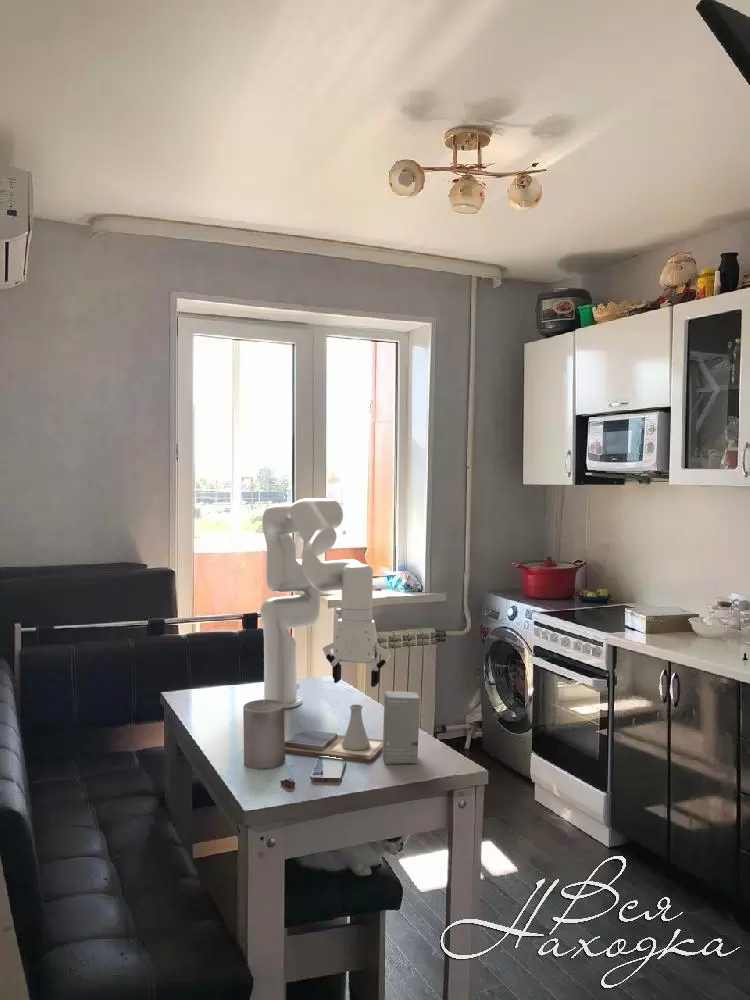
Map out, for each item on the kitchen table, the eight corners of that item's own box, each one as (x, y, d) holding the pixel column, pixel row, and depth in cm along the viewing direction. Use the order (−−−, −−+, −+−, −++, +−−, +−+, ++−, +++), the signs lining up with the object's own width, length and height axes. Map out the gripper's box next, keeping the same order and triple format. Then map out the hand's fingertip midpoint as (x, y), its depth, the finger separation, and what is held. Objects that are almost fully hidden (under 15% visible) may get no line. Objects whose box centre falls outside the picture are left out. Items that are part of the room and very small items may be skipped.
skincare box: (383, 764, 191) (384, 698, 190) (382, 754, 198) (382, 689, 197) (419, 764, 191) (420, 697, 190) (416, 753, 198) (417, 689, 198)
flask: (373, 742, 203) (373, 702, 203) (367, 752, 196) (367, 711, 196) (345, 740, 204) (345, 701, 204) (338, 750, 197) (338, 709, 197)
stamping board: (300, 734, 212) (300, 726, 212) (388, 744, 205) (388, 736, 205) (277, 751, 199) (277, 743, 199) (370, 763, 191) (370, 754, 191)
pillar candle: (265, 752, 199) (264, 691, 198) (293, 761, 193) (292, 698, 192) (235, 763, 191) (234, 700, 191) (263, 773, 185) (262, 708, 185)
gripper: (318, 614, 198) (317, 684, 199) (385, 620, 193) (384, 691, 194) (329, 609, 205) (328, 676, 206) (395, 614, 200) (393, 683, 201)
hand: (355, 683), depth 200 cm, fingers open, 9 cm apart
